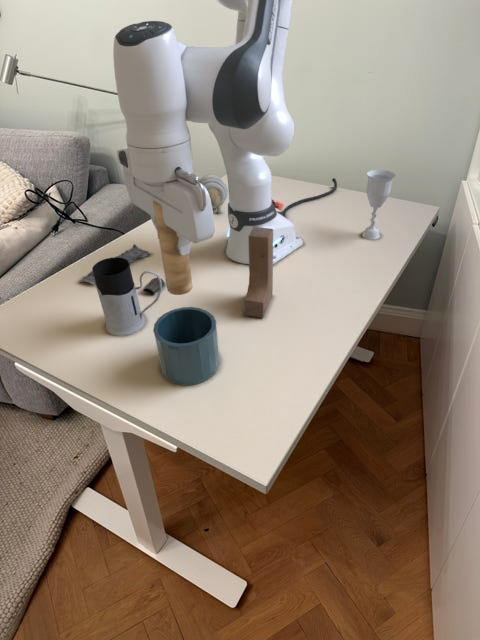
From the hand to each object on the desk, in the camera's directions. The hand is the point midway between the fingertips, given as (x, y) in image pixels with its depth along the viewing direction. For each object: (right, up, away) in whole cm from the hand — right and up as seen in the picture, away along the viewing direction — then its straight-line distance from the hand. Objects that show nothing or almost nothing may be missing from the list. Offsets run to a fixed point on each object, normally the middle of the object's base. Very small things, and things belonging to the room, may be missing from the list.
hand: (174, 246), depth 71 cm
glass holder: (-13, -13, +28) cm, 33 cm away
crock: (+1, -21, +16) cm, 27 cm away
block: (-11, -4, +38) cm, 40 cm away
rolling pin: (0, -6, +5) cm, 8 cm away
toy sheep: (+2, +25, +75) cm, 79 cm away
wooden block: (+15, -9, +31) cm, 36 cm away
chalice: (+49, +13, +56) cm, 76 cm away
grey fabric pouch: (-23, +2, +47) cm, 53 cm away
